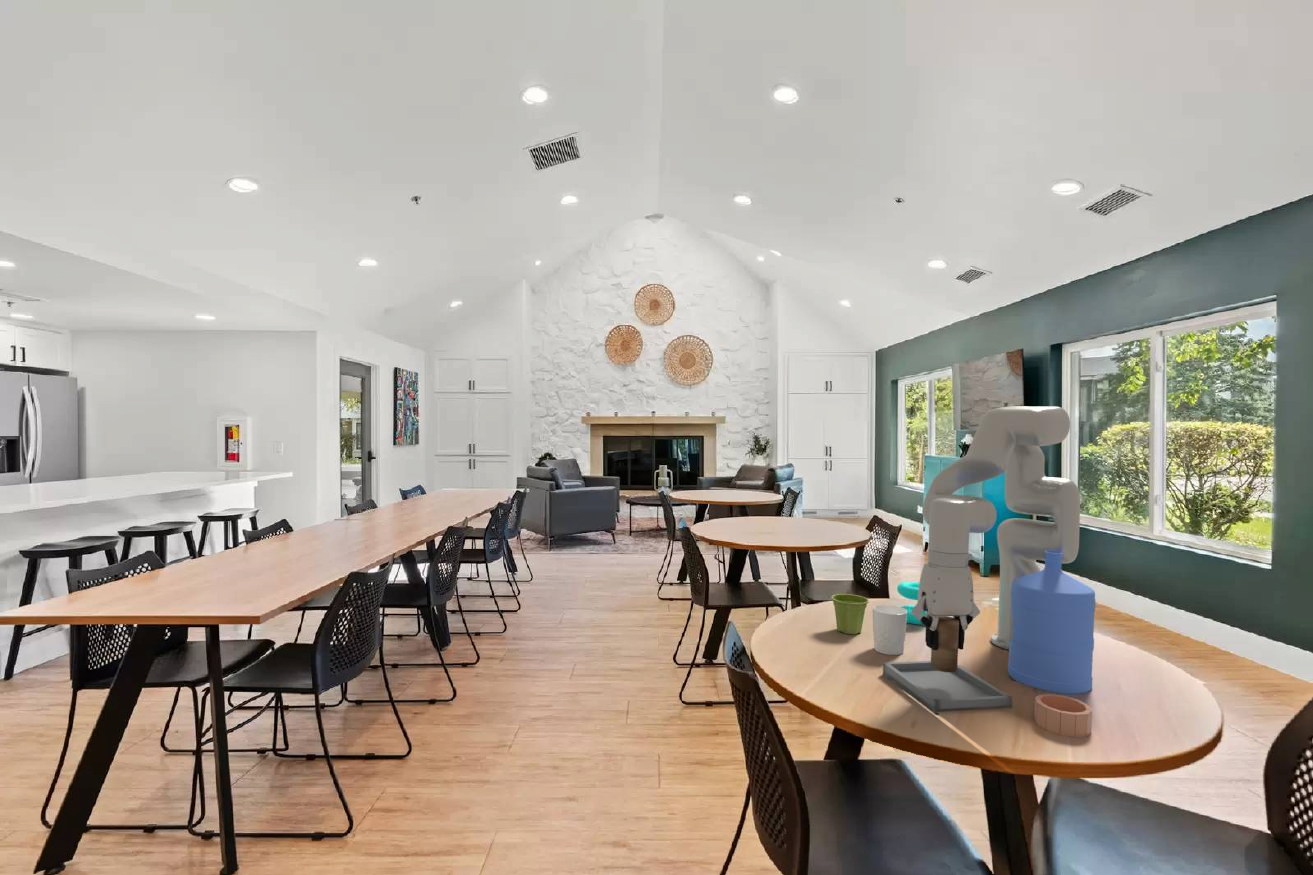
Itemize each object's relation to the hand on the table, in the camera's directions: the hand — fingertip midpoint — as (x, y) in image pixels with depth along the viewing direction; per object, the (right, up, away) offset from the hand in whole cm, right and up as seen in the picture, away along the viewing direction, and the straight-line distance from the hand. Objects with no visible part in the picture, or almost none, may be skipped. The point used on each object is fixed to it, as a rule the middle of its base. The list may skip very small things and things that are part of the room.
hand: (944, 646), depth 137 cm
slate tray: (0, -9, 0) cm, 9 cm away
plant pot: (-8, -8, +39) cm, 40 cm away
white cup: (-3, -9, +24) cm, 26 cm away
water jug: (+25, -10, +7) cm, 28 cm away
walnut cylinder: (0, -4, 0) cm, 4 cm away
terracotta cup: (+15, -10, -15) cm, 24 cm away
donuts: (+13, -8, +49) cm, 52 cm away
